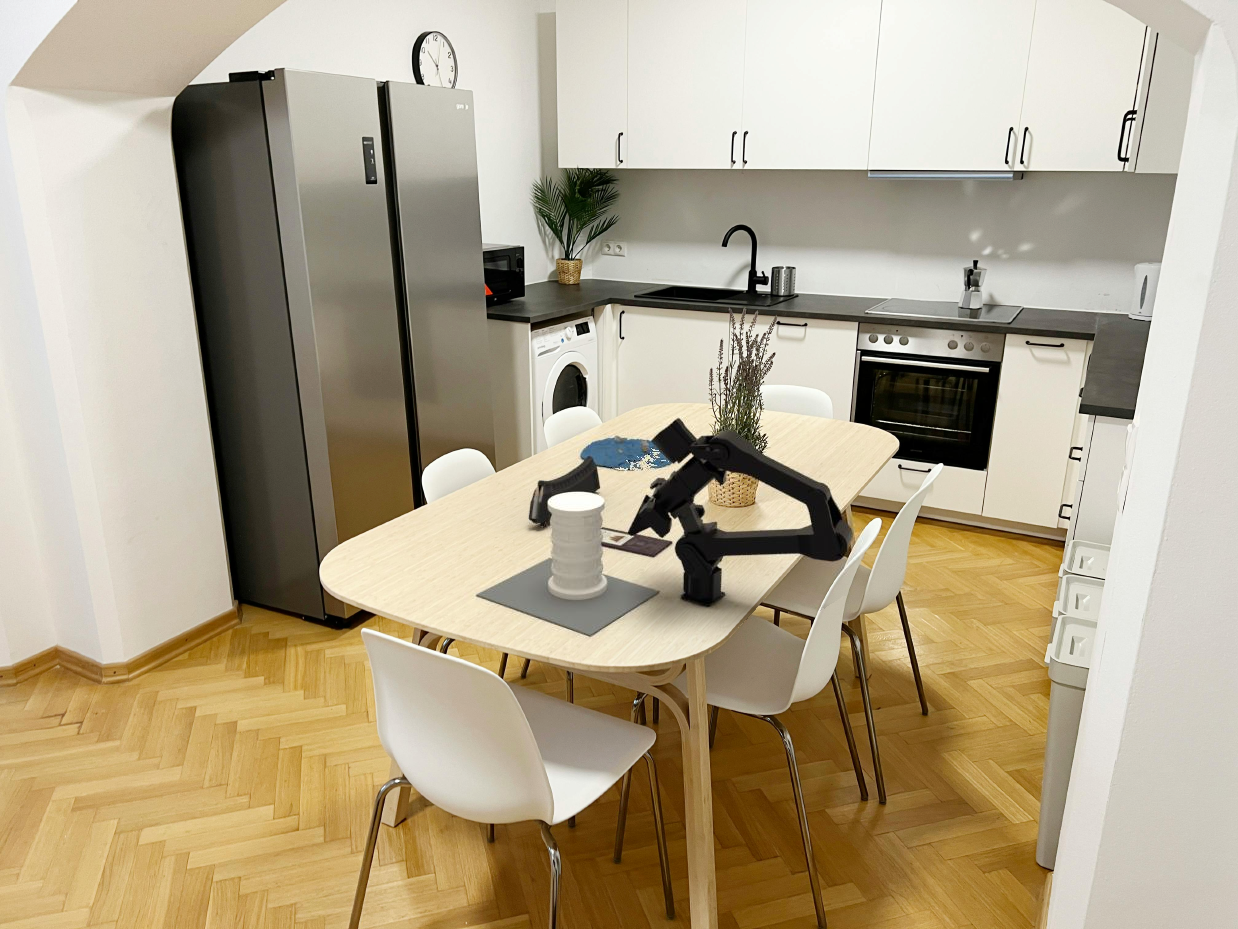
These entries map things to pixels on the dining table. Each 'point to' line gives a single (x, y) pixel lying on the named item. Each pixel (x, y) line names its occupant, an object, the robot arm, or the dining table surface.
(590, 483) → the magazine
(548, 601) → the rubber mat
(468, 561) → the dining table surface
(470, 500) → the dining table surface
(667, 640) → the dining table surface
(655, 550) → the chocolate bar
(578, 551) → the decorative container
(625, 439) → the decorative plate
